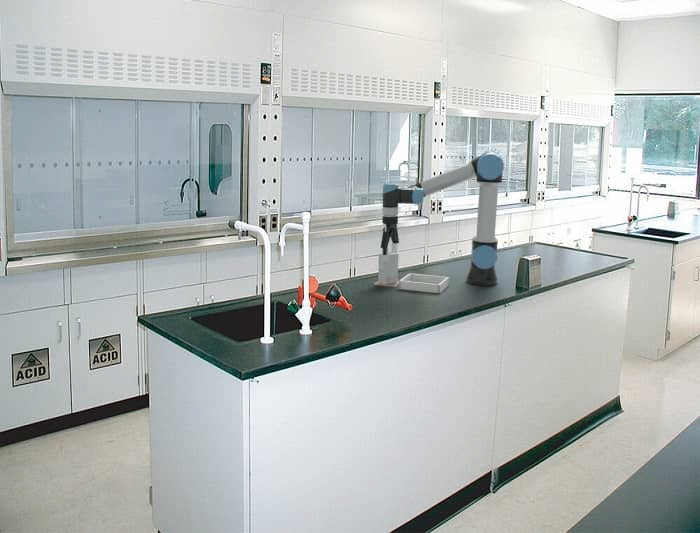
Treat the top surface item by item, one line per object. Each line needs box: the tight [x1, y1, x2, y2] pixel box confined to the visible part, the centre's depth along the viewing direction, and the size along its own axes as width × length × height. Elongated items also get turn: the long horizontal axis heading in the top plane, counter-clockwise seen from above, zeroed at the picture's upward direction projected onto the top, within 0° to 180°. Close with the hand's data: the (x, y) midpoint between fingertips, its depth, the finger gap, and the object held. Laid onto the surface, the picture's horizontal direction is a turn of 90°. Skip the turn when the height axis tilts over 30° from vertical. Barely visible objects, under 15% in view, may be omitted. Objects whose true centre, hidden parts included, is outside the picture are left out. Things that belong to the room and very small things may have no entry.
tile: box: [373, 280, 399, 288], centre depth 341 cm, size 11×11×1 cm
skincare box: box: [377, 251, 399, 285], centre depth 338 cm, size 8×6×15 cm
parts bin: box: [398, 272, 450, 294], centre depth 335 cm, size 20×18×4 cm
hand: (389, 258), depth 339 cm, fingers open, 13 cm apart
